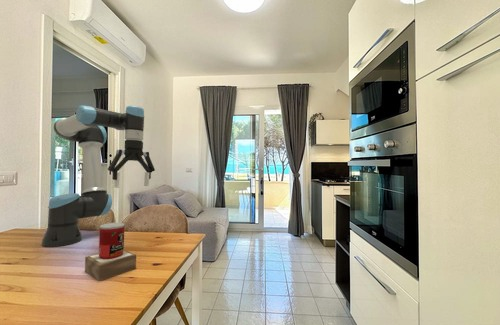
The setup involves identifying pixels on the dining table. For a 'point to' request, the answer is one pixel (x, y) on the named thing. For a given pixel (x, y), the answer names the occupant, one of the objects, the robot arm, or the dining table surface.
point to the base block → (109, 265)
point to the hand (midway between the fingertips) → (132, 186)
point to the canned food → (111, 240)
